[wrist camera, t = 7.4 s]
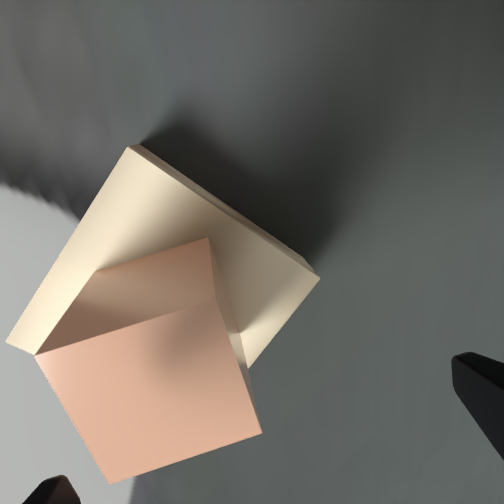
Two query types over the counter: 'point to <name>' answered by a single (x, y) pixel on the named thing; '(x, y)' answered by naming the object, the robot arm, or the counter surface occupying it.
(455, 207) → the counter surface
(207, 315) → the block
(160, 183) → the base
